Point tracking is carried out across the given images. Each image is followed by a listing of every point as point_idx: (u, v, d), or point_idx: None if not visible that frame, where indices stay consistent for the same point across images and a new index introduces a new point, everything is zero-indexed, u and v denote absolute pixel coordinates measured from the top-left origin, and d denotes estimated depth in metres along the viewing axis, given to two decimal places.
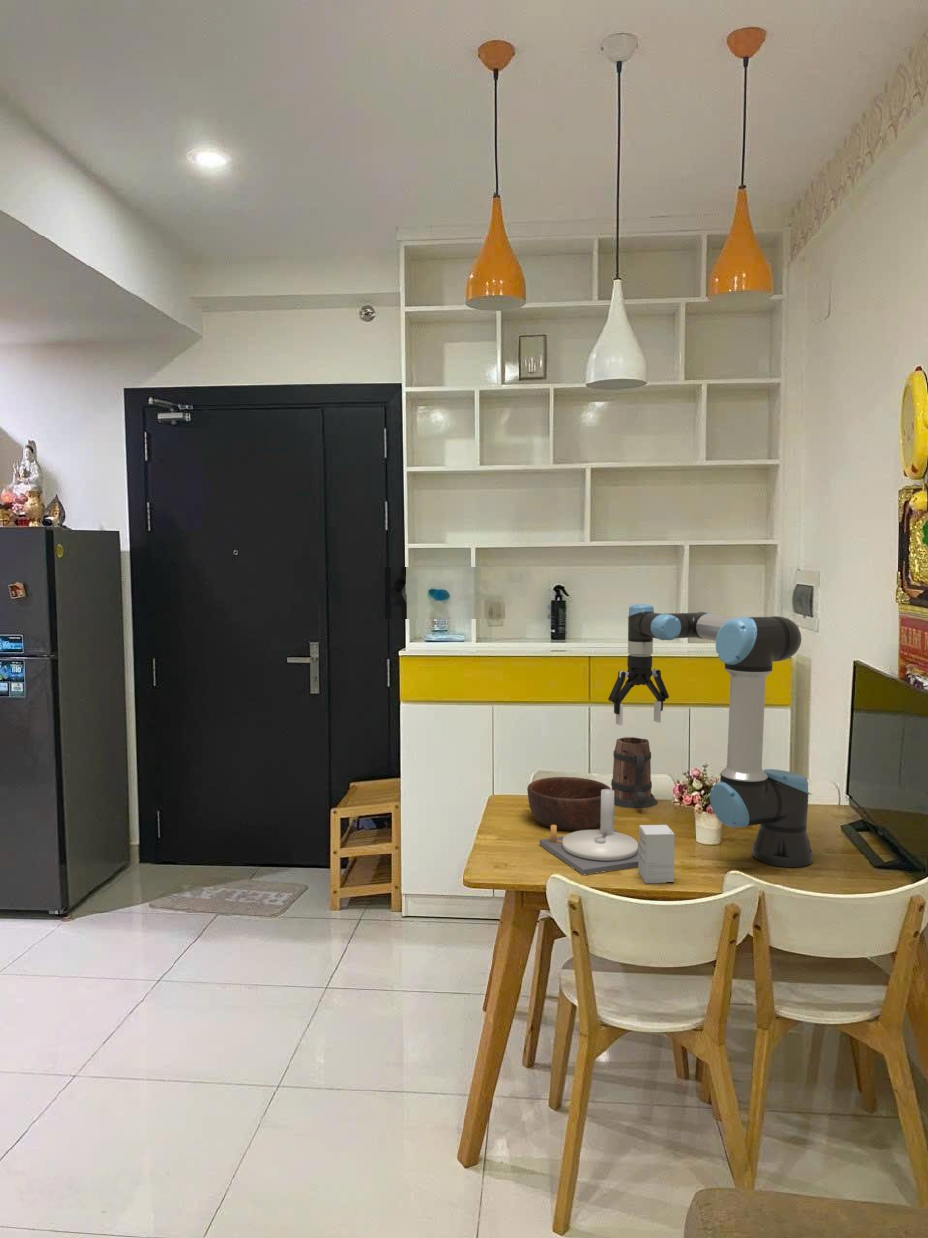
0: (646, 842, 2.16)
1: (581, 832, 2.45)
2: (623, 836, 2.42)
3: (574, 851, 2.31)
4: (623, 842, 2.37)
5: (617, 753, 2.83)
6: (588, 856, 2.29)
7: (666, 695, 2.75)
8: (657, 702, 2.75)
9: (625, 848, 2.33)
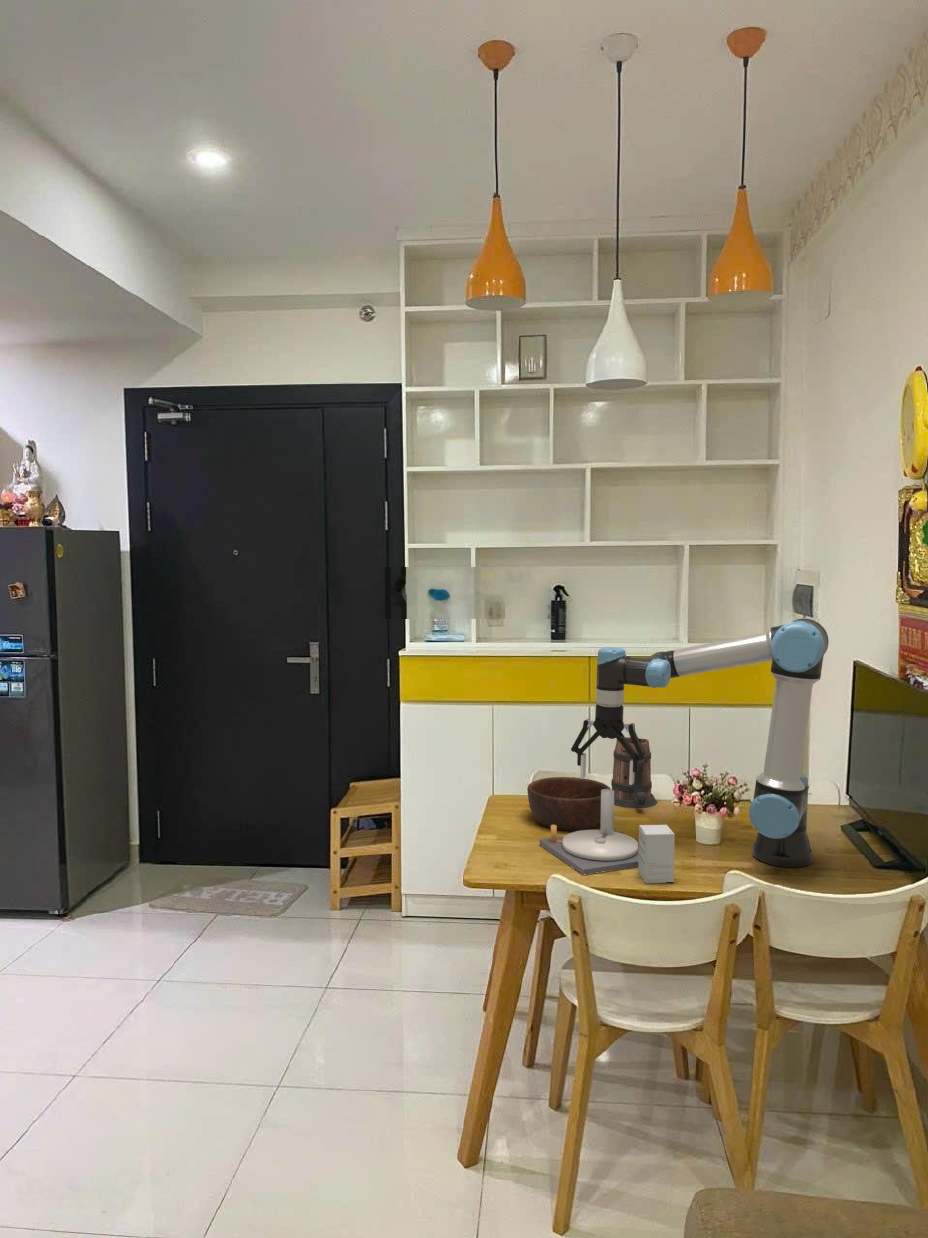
0: (646, 842, 2.16)
1: (581, 832, 2.45)
2: (623, 836, 2.42)
3: (574, 851, 2.31)
4: (623, 842, 2.37)
5: (617, 753, 2.83)
6: (588, 856, 2.29)
7: (640, 755, 2.38)
8: None
9: (625, 848, 2.33)
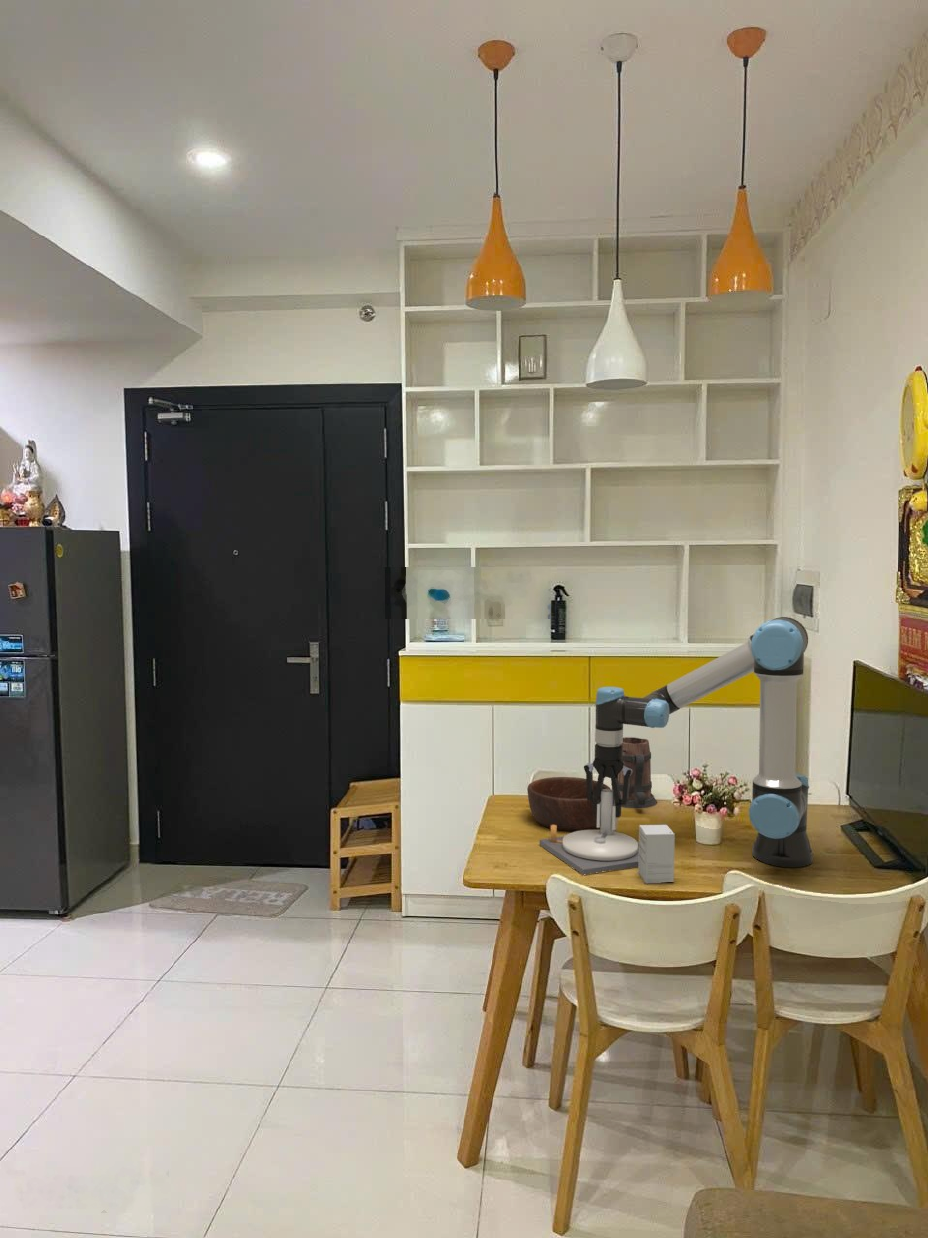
0: (646, 842, 2.16)
1: (581, 832, 2.45)
2: (623, 836, 2.42)
3: (574, 851, 2.31)
4: (623, 842, 2.37)
5: None
6: (588, 856, 2.29)
7: (623, 800, 2.40)
8: (613, 806, 2.43)
9: (625, 848, 2.33)
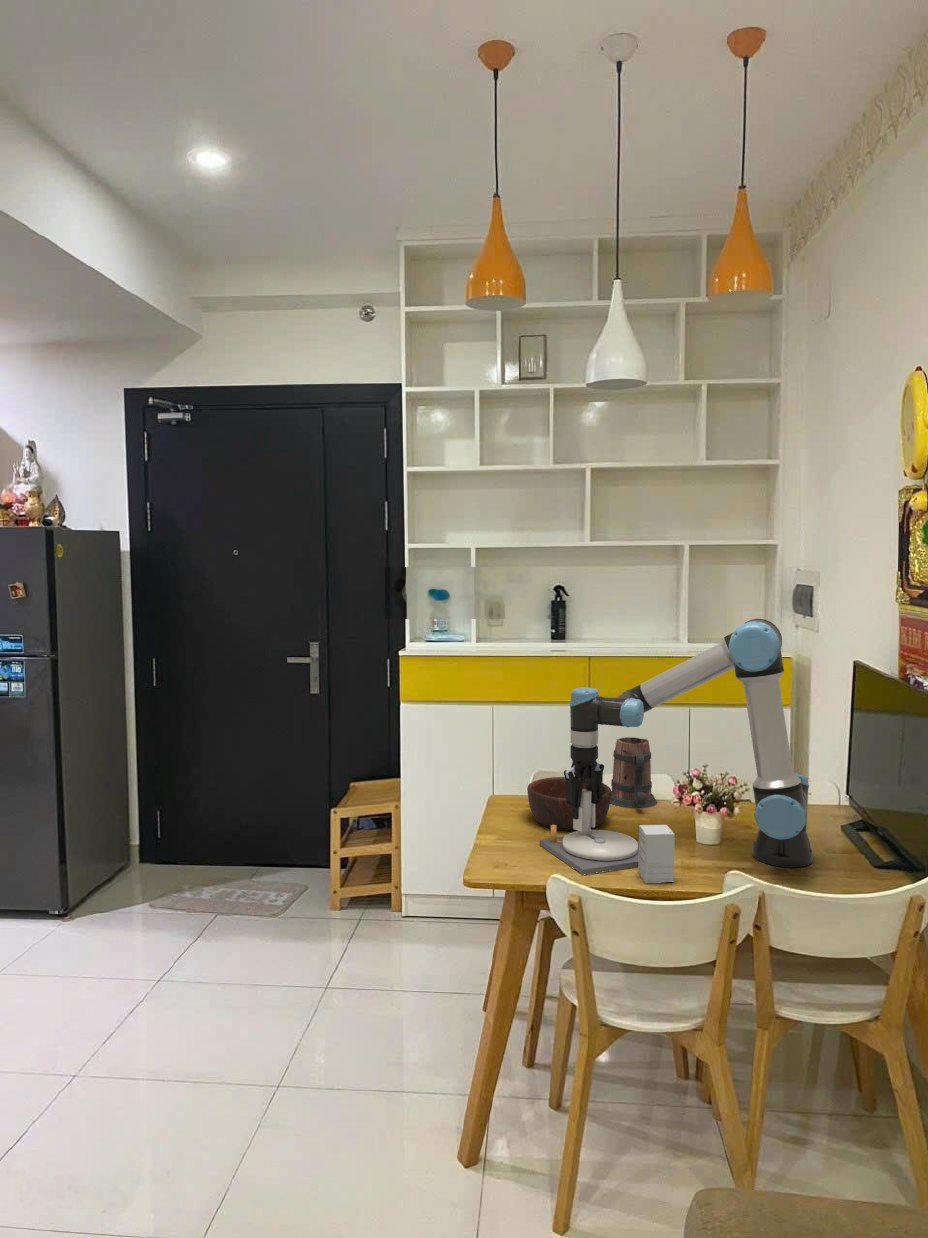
0: (646, 842, 2.16)
1: (567, 839, 2.39)
2: (599, 831, 2.46)
3: (605, 856, 2.28)
4: (612, 836, 2.42)
5: (617, 753, 2.83)
6: (621, 856, 2.28)
7: (600, 795, 2.45)
8: (591, 805, 2.44)
9: (626, 840, 2.39)
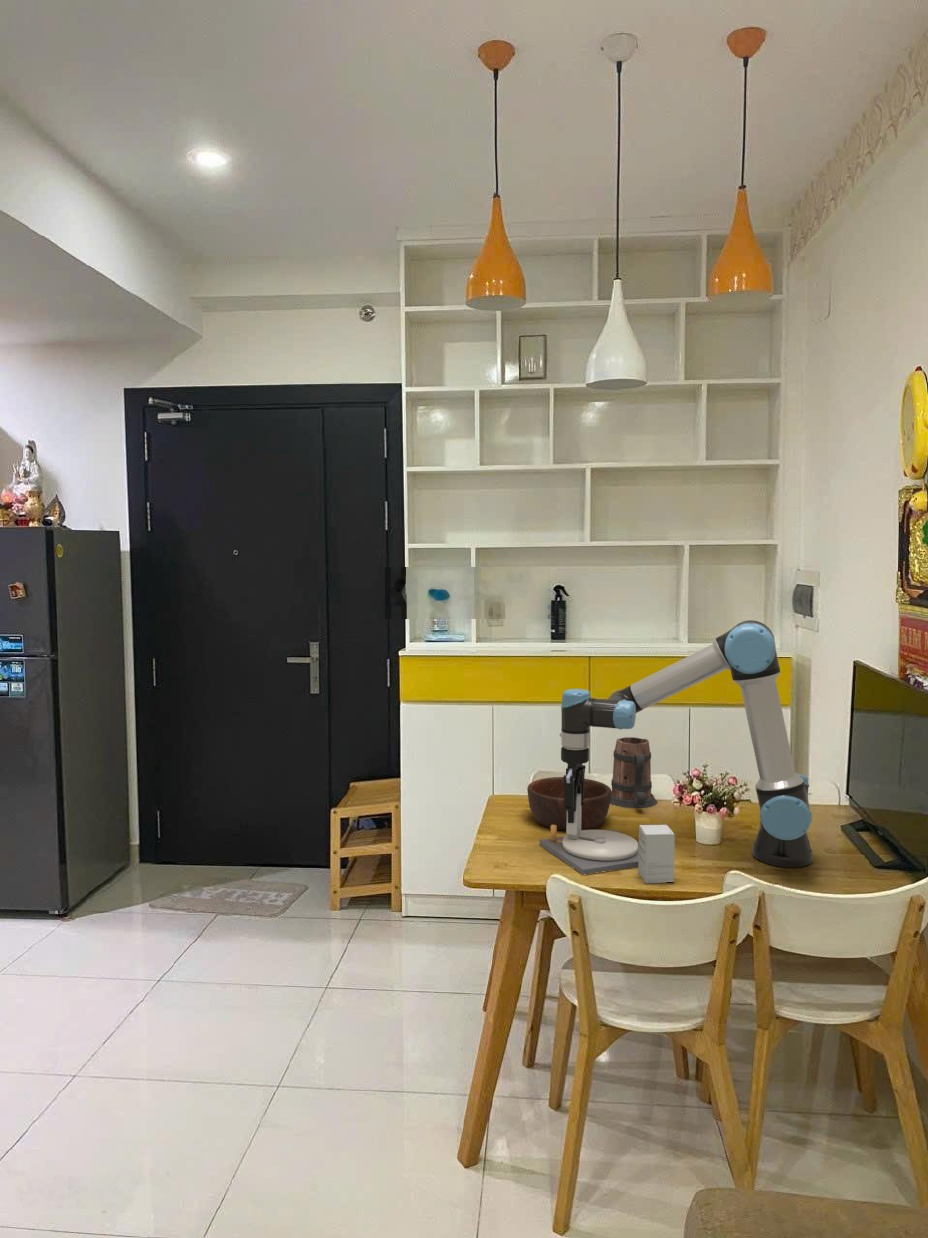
0: (646, 842, 2.16)
1: (571, 846, 2.34)
2: (581, 832, 2.45)
3: (627, 854, 2.29)
4: (598, 834, 2.44)
5: (617, 753, 2.83)
6: (635, 851, 2.33)
7: (583, 796, 2.44)
8: None
9: (615, 835, 2.43)
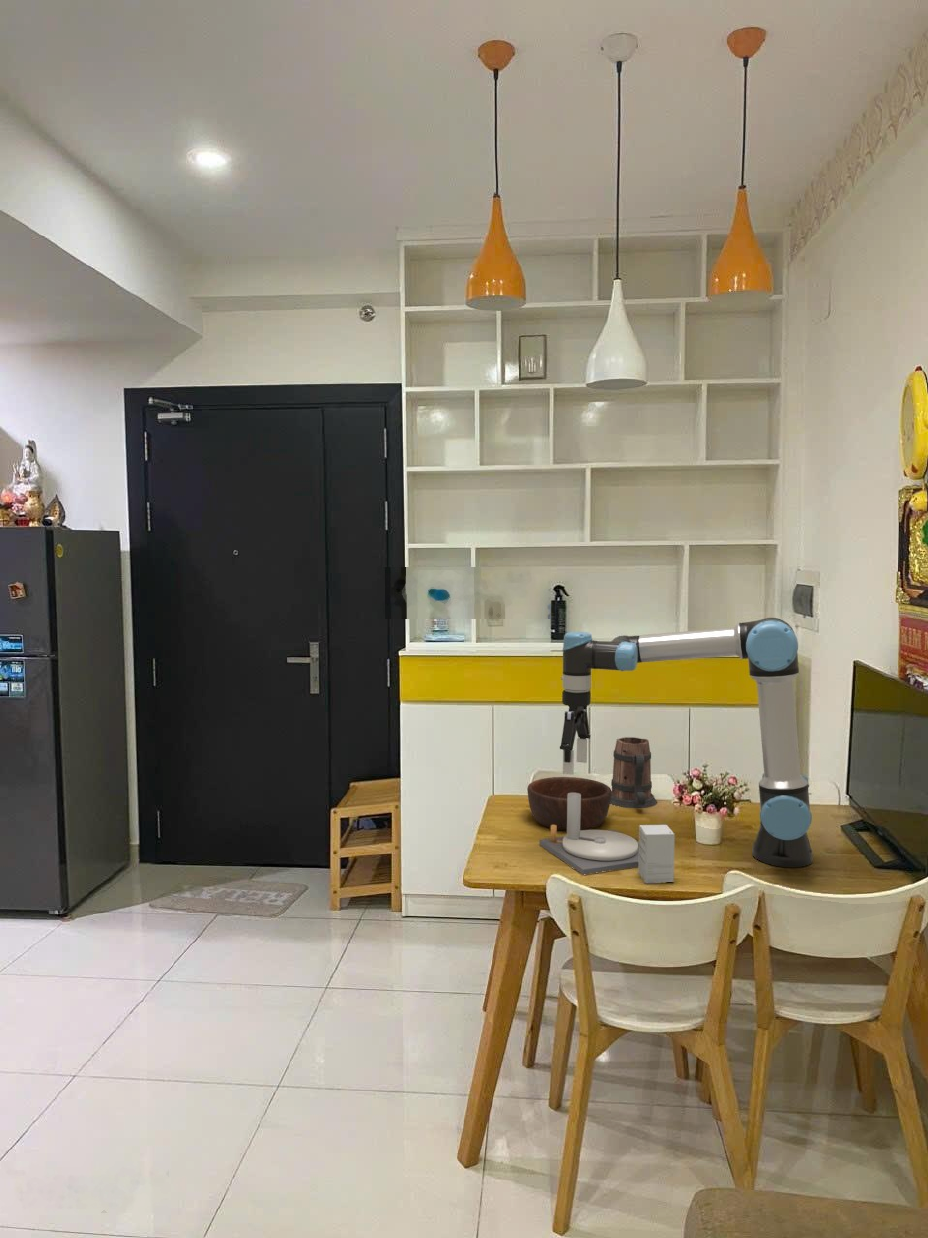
0: (646, 842, 2.16)
1: (572, 846, 2.34)
2: (581, 832, 2.45)
3: (628, 854, 2.30)
4: (597, 834, 2.44)
5: (617, 753, 2.83)
6: (636, 851, 2.33)
7: (588, 731, 2.46)
8: (583, 740, 2.44)
9: (614, 835, 2.43)
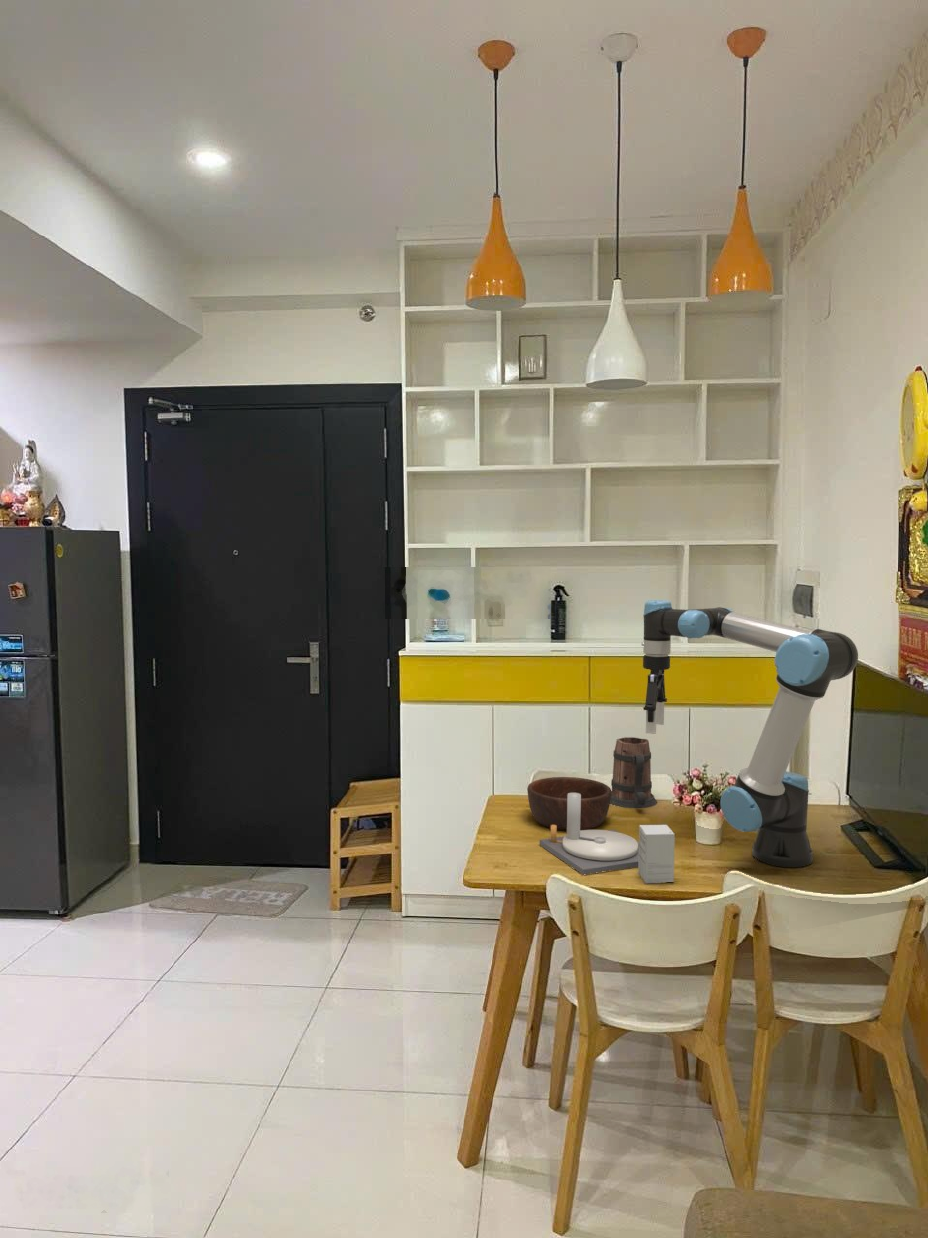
0: (646, 842, 2.16)
1: (572, 846, 2.34)
2: (581, 832, 2.45)
3: (628, 854, 2.30)
4: (597, 834, 2.44)
5: (617, 753, 2.83)
6: (636, 851, 2.33)
7: (664, 695, 2.60)
8: (660, 703, 2.58)
9: (614, 835, 2.43)
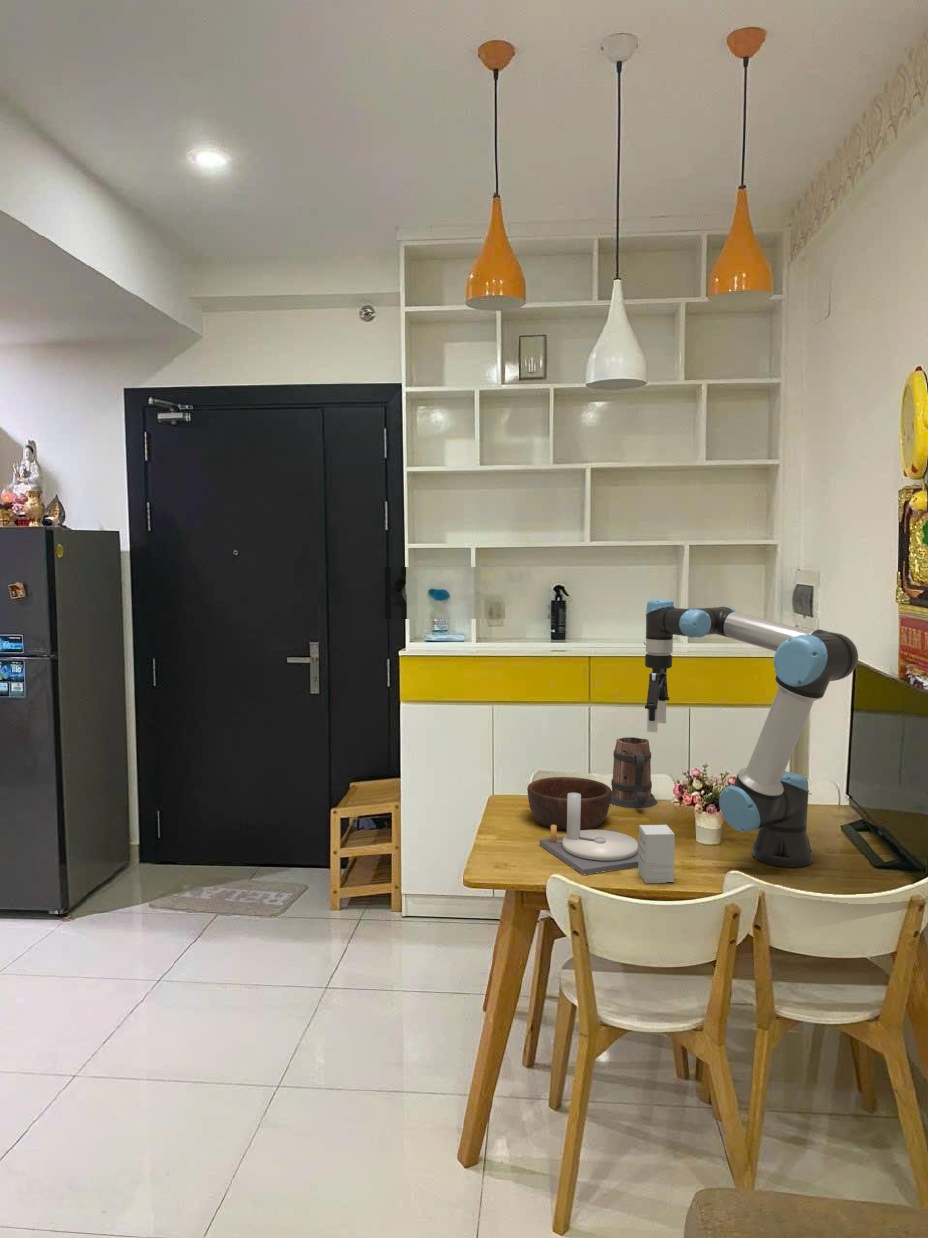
0: (646, 842, 2.16)
1: (572, 846, 2.34)
2: (581, 832, 2.45)
3: (628, 854, 2.30)
4: (597, 834, 2.44)
5: (617, 753, 2.83)
6: (636, 851, 2.33)
7: (667, 693, 2.61)
8: (662, 702, 2.59)
9: (614, 835, 2.43)
